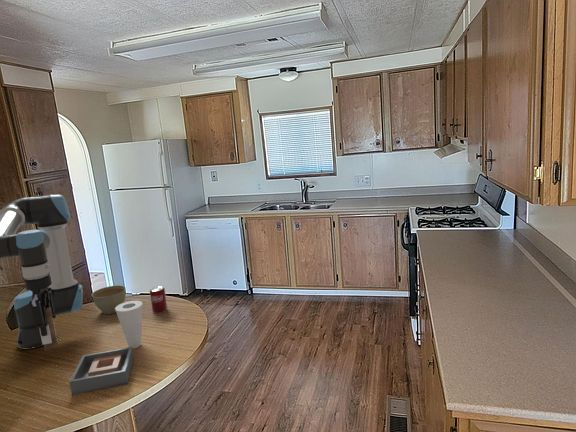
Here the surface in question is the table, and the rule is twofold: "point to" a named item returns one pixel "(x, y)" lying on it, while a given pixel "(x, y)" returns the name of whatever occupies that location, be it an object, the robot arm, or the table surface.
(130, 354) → the box
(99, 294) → the planter bowl
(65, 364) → the table surface
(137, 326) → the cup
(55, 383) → the table surface
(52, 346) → the peg
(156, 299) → the soda can
